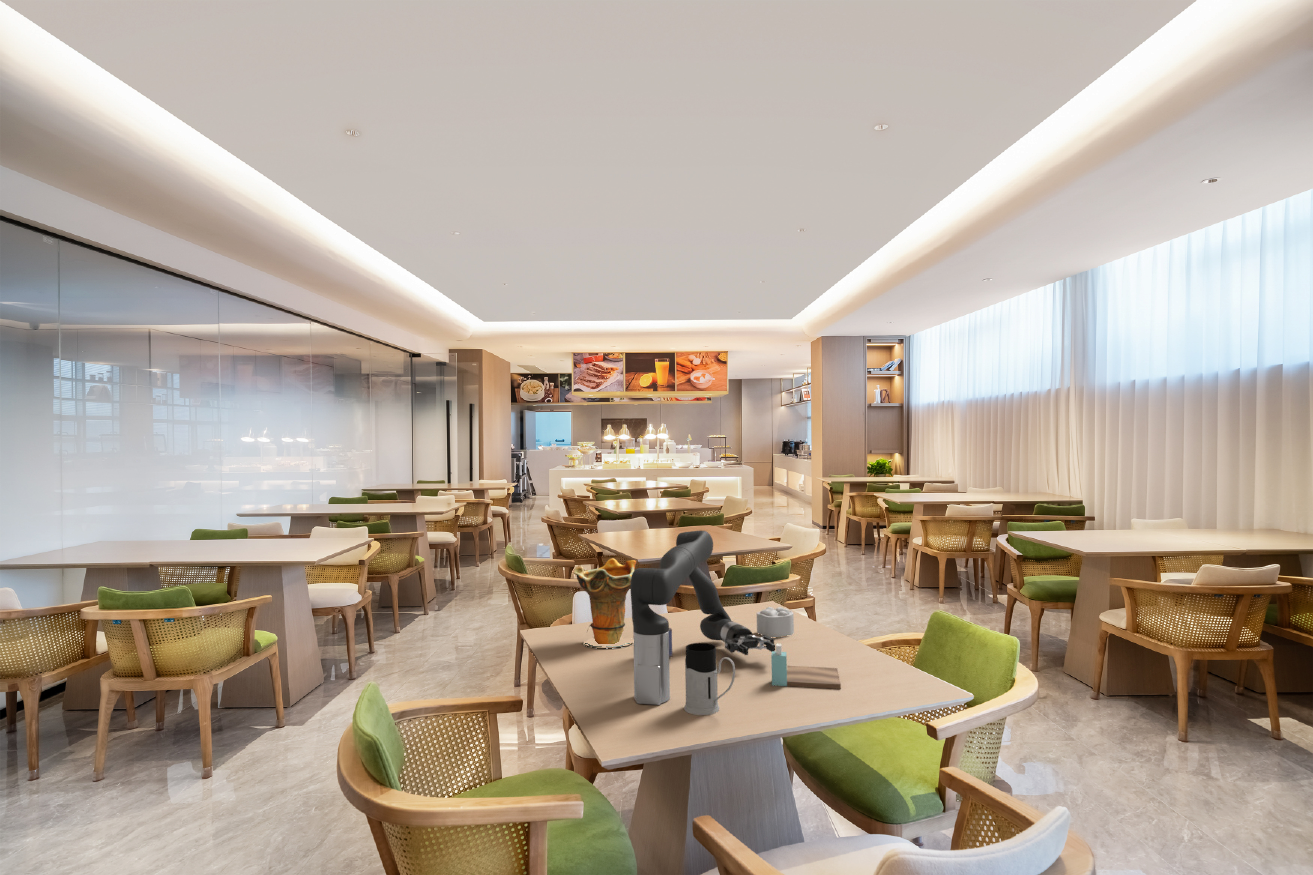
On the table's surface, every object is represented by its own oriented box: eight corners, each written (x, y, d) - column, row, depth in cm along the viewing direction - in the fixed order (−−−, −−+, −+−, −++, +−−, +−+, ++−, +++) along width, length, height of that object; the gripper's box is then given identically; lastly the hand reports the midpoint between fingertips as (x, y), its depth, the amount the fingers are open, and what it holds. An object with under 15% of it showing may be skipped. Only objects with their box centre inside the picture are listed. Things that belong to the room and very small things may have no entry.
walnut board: (840, 688, 174) (840, 684, 174) (787, 685, 177) (786, 681, 177) (837, 672, 188) (837, 667, 188) (787, 669, 191) (787, 665, 191)
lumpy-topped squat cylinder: (753, 632, 233) (752, 608, 234) (782, 627, 239) (781, 603, 240) (771, 639, 224) (770, 613, 224) (801, 634, 230) (800, 609, 230)
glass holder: (697, 699, 168) (696, 640, 169) (745, 712, 159) (744, 649, 160) (676, 709, 161) (675, 648, 162) (725, 723, 152) (724, 658, 153)
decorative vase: (561, 646, 217) (563, 561, 220) (599, 633, 238) (600, 555, 240) (615, 654, 208) (616, 564, 210) (649, 640, 228) (650, 559, 230)
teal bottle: (786, 686, 177) (786, 647, 177) (771, 685, 178) (771, 646, 178) (787, 681, 181) (786, 643, 181) (772, 680, 182) (771, 642, 182)
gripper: (715, 626, 203) (737, 639, 188) (756, 622, 208) (782, 634, 193) (715, 650, 203) (738, 665, 188) (757, 645, 208) (782, 660, 192)
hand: (760, 649), depth 190 cm, fingers open, 8 cm apart
